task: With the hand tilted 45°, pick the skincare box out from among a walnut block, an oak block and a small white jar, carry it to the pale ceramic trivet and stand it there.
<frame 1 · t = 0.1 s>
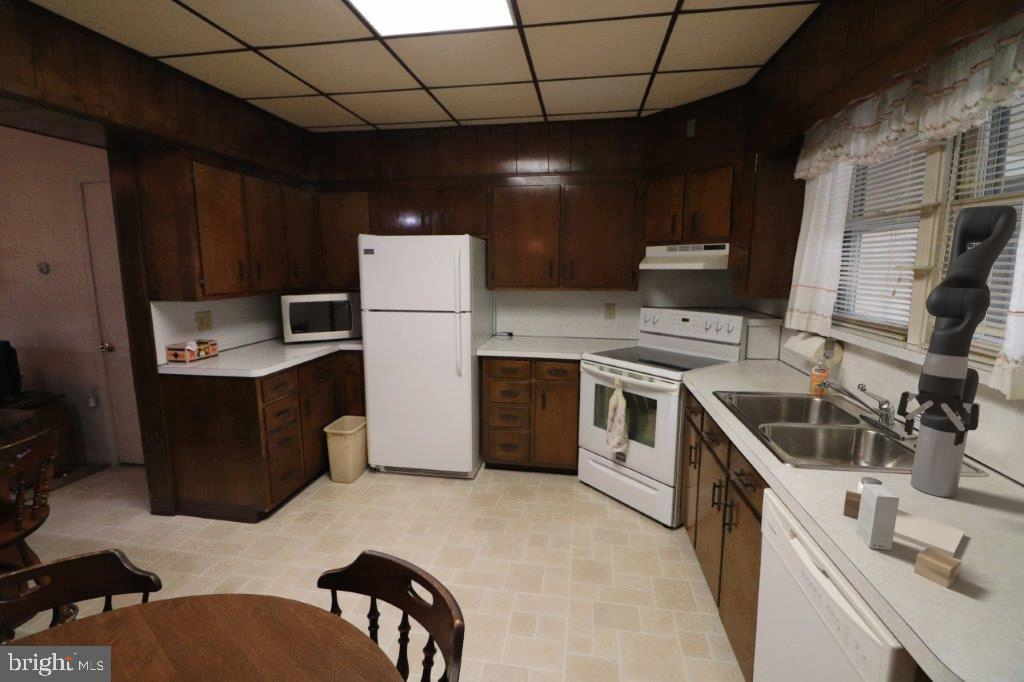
hand: (932, 439, 113), 17 cm above the counter, tool pointing down, fingers open, 8 cm apart
walnut block: (855, 514, 113), on the counter
oak block: (935, 576, 92), on the counter
trivet: (922, 533, 105), on the counter
skincare box: (872, 542, 102), on the counter
white jar: (868, 507, 116), on the counter
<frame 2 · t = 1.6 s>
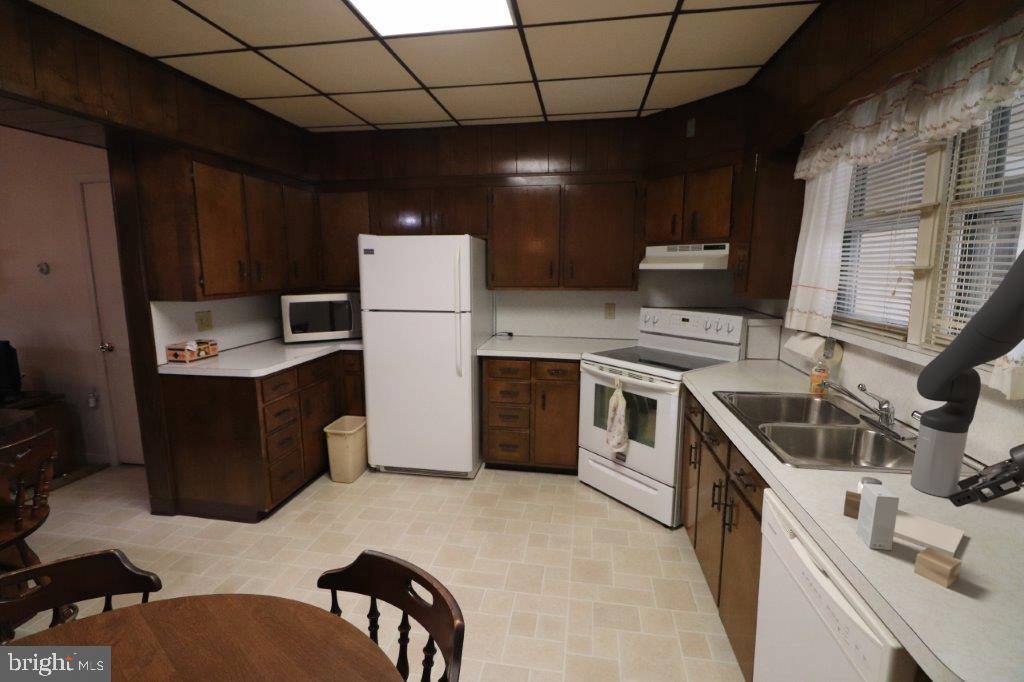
hand: (956, 494, 91), 16 cm above the counter, tool tilted 45°, fingers open, 8 cm apart
nothing on the counter moved.
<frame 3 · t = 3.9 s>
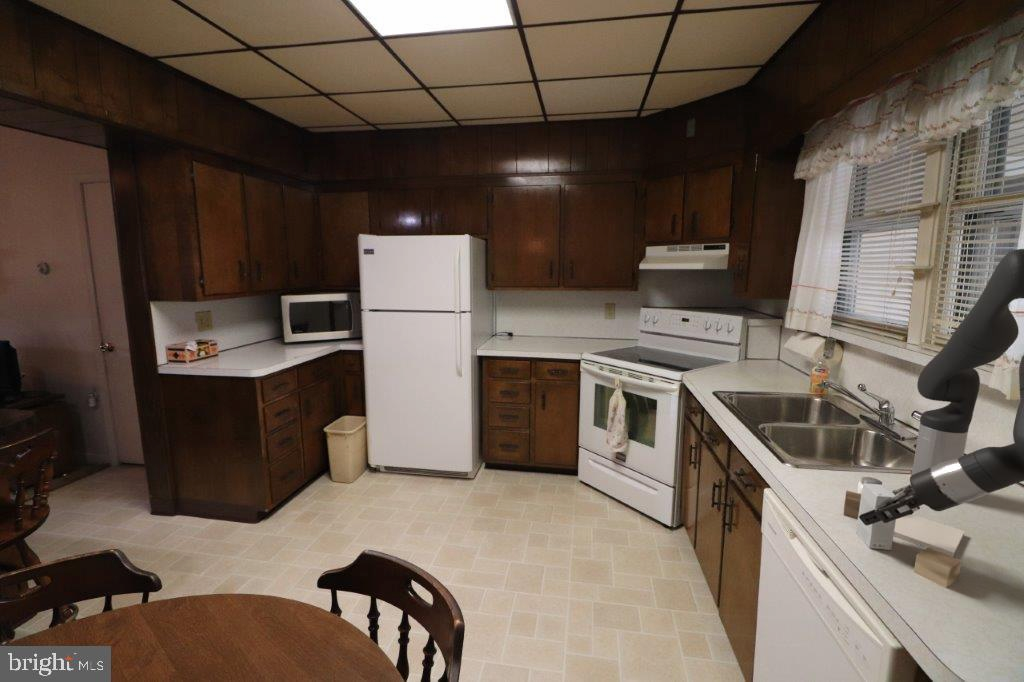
hand: (868, 514, 102), 6 cm above the counter, tool tilted 45°, fingers closed on skincare box, 7 cm apart
skincare box: (872, 542, 102), on the counter, touching gripper
everything else where it was.
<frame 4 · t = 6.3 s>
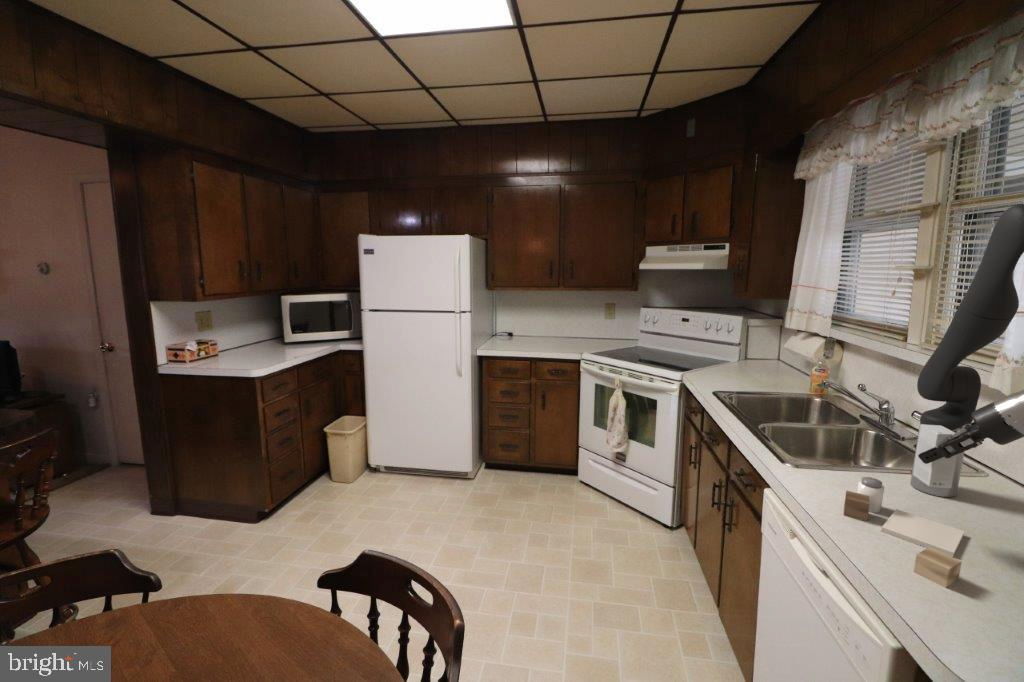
hand: (926, 454, 103), 18 cm above the counter, tool tilted 45°, fingers closed on skincare box, 7 cm apart
skincare box: (931, 482, 103), point 12 cm above the counter, touching gripper
everything else where it was.
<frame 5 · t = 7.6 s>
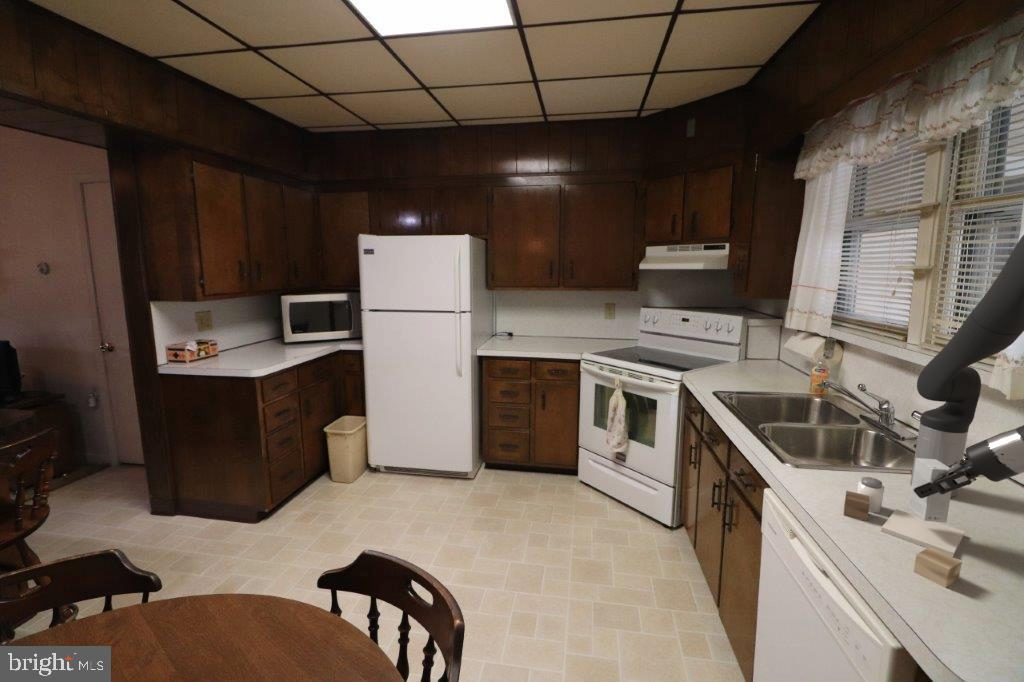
hand: (921, 488, 104), 10 cm above the counter, tool tilted 45°, fingers closed on skincare box, 7 cm apart
skincare box: (926, 515, 104), point 4 cm above the counter, touching gripper
everything else where it was.
when the fingers open (8 cm above the counter, at t = 8.7 s): skincare box drops 1 cm, resting on trivet.
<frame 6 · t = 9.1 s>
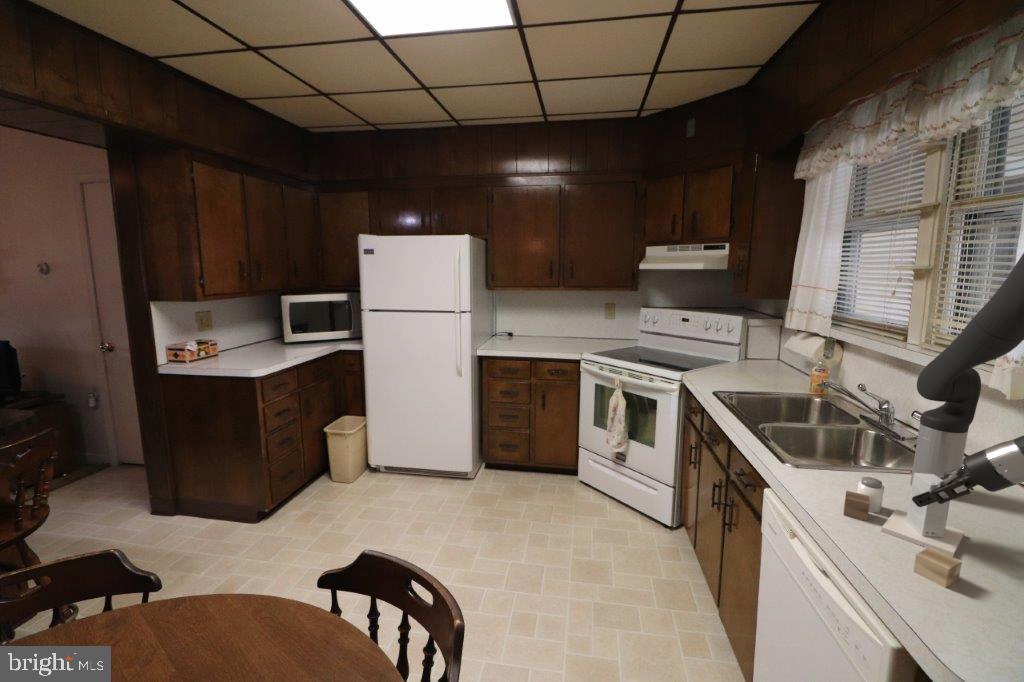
hand: (920, 496, 105), 8 cm above the counter, tool tilted 45°, fingers open, 8 cm apart
skincare box: (924, 530, 105), point 1 cm above the counter, touching trivet
everything else where it was.
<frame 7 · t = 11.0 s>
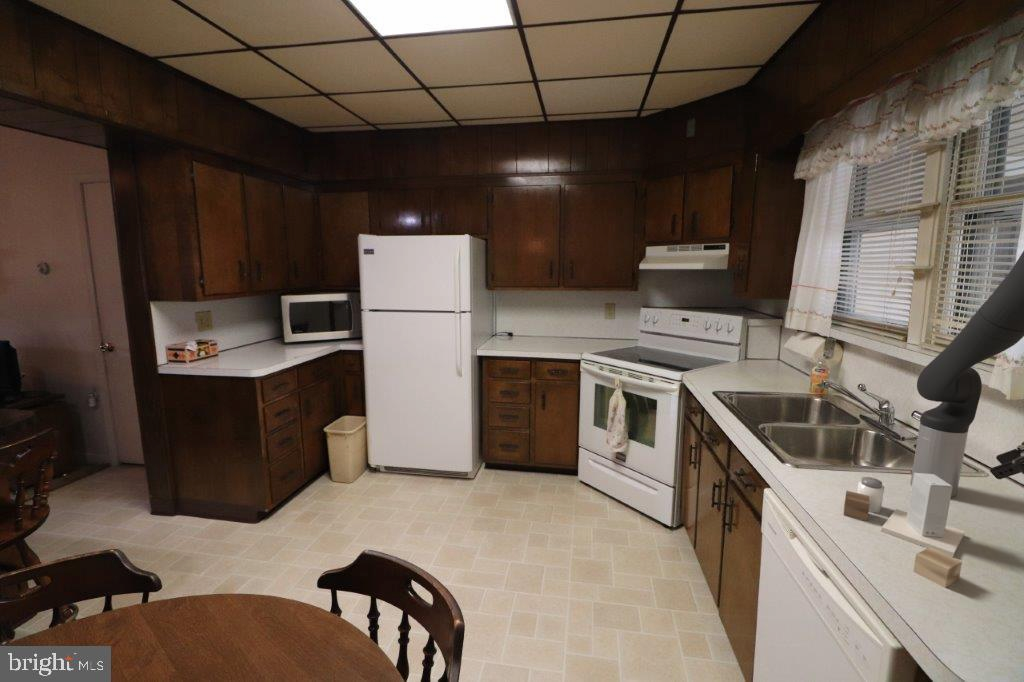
hand: (996, 467, 96), 19 cm above the counter, tool tilted 45°, fingers open, 8 cm apart
nothing on the counter moved.
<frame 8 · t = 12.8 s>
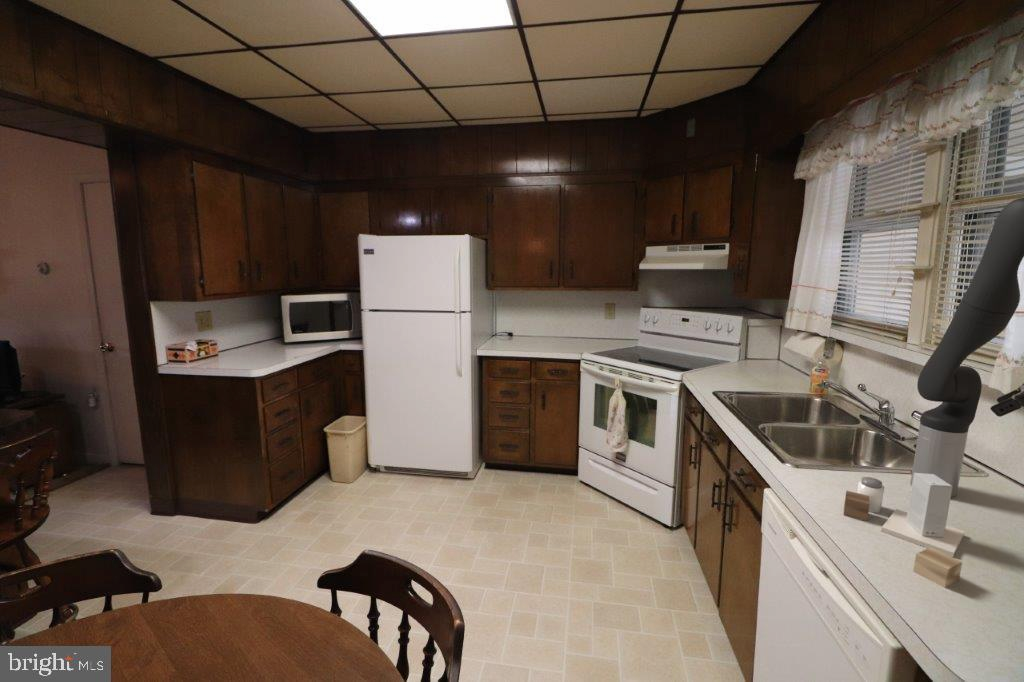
hand: (997, 407, 95), 31 cm above the counter, tool tilted 45°, fingers open, 8 cm apart
nothing on the counter moved.
at the end: skincare box inside the target area on the trivet (0.3 cm from its centre), point 0.8 cm above the trivet's base; skincare box tilted 0°; the gripper is holding nothing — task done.
